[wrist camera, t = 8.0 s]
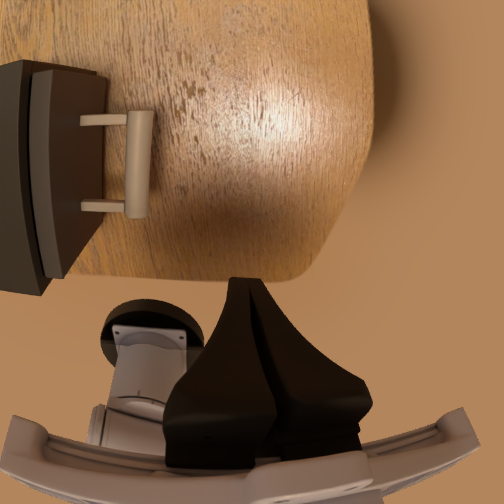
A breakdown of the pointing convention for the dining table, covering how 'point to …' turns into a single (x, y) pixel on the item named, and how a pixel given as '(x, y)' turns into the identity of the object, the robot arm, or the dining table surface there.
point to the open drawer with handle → (78, 163)
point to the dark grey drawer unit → (19, 181)
